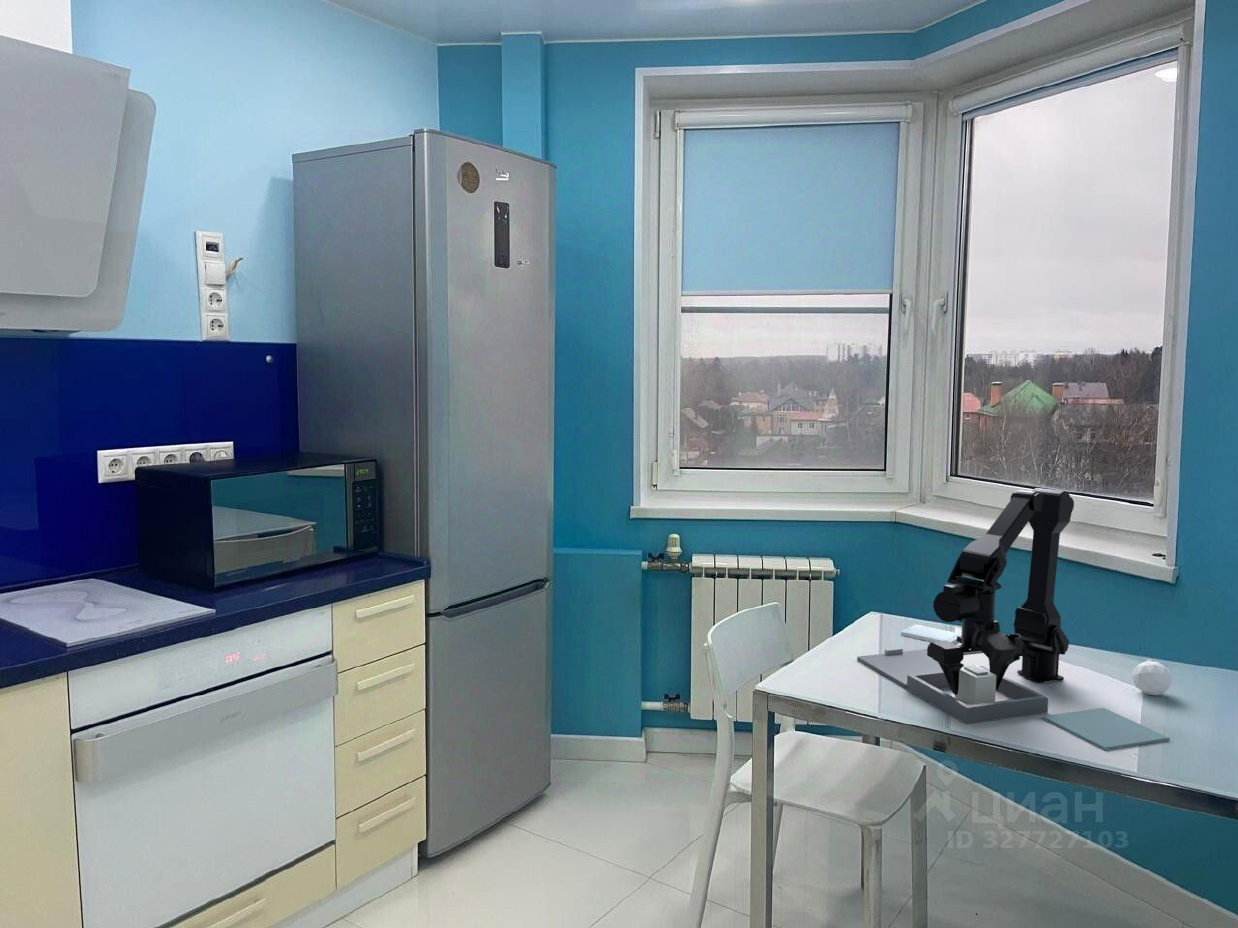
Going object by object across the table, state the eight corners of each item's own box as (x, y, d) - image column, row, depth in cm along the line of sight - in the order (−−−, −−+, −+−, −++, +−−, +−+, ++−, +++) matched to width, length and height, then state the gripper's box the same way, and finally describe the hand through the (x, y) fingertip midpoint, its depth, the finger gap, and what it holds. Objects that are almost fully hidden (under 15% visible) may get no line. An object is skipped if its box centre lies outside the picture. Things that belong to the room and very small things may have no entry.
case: (926, 652, 195) (926, 639, 194) (1047, 712, 160) (1048, 697, 160) (857, 659, 190) (857, 646, 189) (966, 723, 155) (967, 707, 155)
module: (973, 694, 170) (975, 662, 169) (994, 705, 164) (996, 673, 163) (954, 696, 168) (955, 665, 168) (975, 707, 163) (976, 675, 162)
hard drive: (900, 631, 208) (951, 641, 199) (916, 623, 214) (965, 633, 205) (900, 637, 208) (950, 648, 199) (915, 630, 214) (965, 640, 205)
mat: (1103, 709, 161) (1103, 707, 161) (1169, 740, 148) (1169, 737, 148) (1042, 718, 157) (1042, 715, 157) (1104, 750, 144) (1104, 747, 144)
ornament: (1126, 693, 169) (1122, 657, 173) (1152, 702, 171) (1147, 666, 175) (1155, 687, 164) (1150, 650, 167) (1182, 696, 166) (1176, 659, 169)
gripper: (965, 629, 154) (961, 712, 156) (1049, 621, 159) (1045, 701, 161) (926, 613, 165) (923, 691, 166) (1007, 605, 170) (1003, 681, 171)
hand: (974, 691), depth 166 cm, fingers open, 9 cm apart
